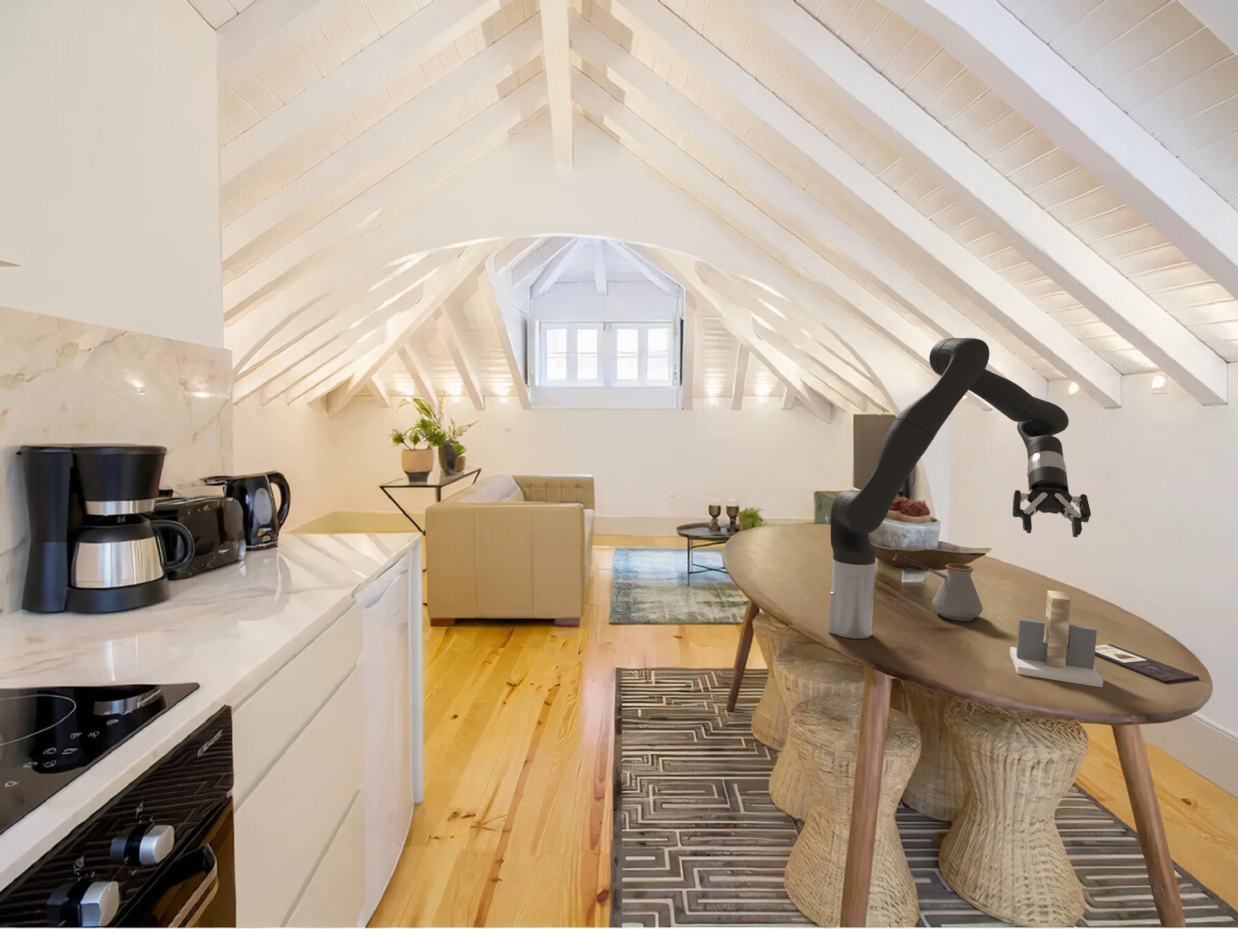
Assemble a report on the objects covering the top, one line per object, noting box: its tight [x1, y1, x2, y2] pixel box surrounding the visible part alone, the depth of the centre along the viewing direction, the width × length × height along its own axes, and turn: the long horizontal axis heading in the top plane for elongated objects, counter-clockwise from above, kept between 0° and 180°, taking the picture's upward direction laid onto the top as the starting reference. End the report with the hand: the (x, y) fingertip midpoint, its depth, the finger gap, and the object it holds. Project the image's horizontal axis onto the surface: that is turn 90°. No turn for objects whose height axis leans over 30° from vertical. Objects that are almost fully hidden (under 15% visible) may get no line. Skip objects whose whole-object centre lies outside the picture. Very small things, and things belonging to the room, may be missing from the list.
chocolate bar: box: [1095, 643, 1200, 684], centre depth 136 cm, size 9×1×18 cm
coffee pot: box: [892, 552, 984, 622], centre depth 166 cm, size 21×12×15 cm, turn 72°
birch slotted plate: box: [1043, 589, 1071, 669], centre depth 132 cm, size 3×6×14 cm, turn 154°
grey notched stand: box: [1009, 617, 1104, 688], centre depth 132 cm, size 14×12×10 cm
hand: (1052, 533), depth 140 cm, fingers open, 8 cm apart
